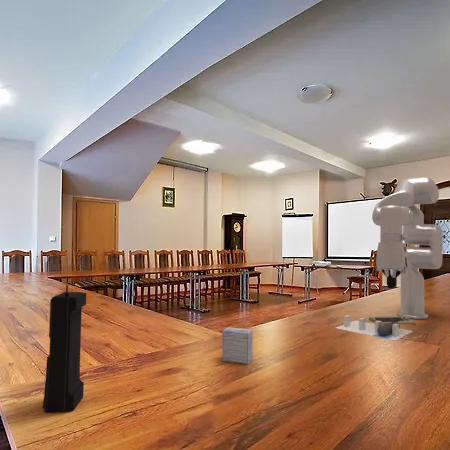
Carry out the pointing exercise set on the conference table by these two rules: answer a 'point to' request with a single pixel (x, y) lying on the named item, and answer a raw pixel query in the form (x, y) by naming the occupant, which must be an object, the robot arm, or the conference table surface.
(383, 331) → the dark grey rounded peg
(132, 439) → the conference table surface
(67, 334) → the portable radio
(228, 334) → the medicine box
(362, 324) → the board
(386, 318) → the computer
